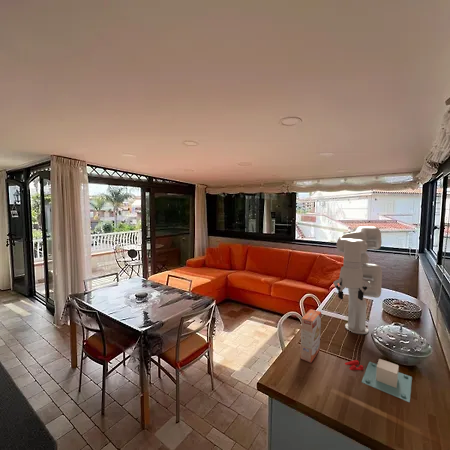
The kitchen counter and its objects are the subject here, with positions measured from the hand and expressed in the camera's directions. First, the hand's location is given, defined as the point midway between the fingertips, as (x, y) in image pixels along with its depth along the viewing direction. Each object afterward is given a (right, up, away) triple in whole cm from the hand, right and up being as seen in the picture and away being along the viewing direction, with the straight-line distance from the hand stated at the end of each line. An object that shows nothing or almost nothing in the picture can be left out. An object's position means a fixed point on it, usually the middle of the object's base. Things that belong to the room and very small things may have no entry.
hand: (350, 299), depth 117 cm
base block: (+7, -29, -17) cm, 34 cm away
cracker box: (-19, -29, +2) cm, 35 cm away
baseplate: (+7, -30, -17) cm, 35 cm away
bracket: (-3, -30, -8) cm, 31 cm away
